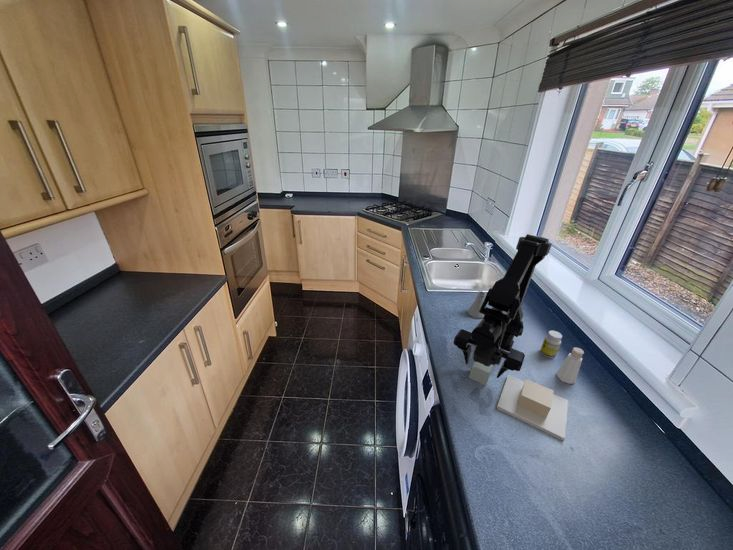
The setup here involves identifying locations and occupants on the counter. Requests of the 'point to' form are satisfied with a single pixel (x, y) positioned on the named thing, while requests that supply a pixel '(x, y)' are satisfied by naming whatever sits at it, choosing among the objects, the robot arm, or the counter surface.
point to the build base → (529, 417)
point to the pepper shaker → (571, 366)
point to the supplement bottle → (551, 344)
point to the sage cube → (480, 373)
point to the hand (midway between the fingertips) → (481, 370)
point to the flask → (477, 306)
